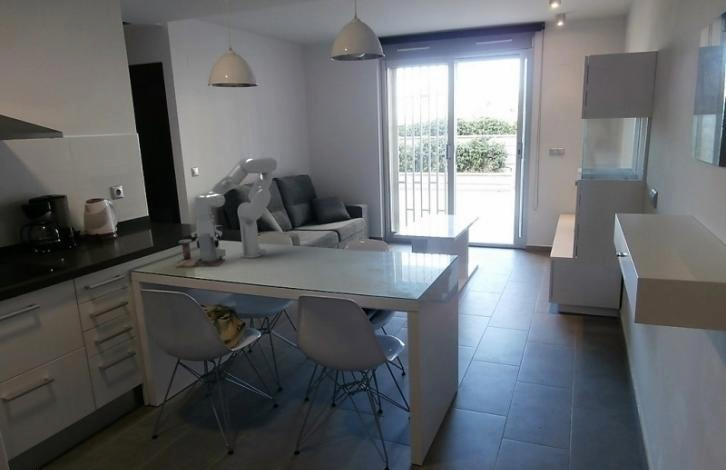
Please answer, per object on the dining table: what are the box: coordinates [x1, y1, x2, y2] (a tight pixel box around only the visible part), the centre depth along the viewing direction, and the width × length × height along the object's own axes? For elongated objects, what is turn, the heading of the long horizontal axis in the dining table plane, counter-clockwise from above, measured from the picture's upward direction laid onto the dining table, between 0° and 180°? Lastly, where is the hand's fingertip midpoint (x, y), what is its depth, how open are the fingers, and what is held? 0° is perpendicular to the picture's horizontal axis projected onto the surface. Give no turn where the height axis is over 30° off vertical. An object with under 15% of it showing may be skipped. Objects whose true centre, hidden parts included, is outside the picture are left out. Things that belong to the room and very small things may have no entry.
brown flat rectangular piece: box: [175, 255, 226, 269], centre depth 278 cm, size 24×12×3 cm, turn 88°
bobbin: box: [178, 238, 195, 262], centre depth 287 cm, size 7×7×12 cm
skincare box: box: [198, 235, 218, 261], centre depth 277 cm, size 8×7×16 cm
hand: (208, 247), depth 277 cm, fingers open, 9 cm apart
